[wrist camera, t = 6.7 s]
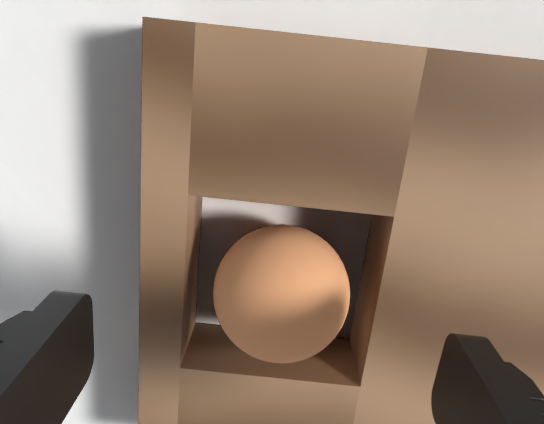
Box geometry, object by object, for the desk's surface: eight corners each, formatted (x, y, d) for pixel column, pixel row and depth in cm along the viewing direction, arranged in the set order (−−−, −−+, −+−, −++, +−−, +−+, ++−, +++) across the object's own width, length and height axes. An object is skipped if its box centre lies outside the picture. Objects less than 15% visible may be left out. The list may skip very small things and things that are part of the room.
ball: (191, 226, 12) (332, 275, 10) (265, 198, 16) (380, 232, 14) (178, 354, 13) (302, 417, 12) (249, 302, 17) (353, 345, 15)
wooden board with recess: (167, 23, 13) (142, 16, 11) (857, 98, 13) (979, 107, 11) (157, 415, 18) (137, 471, 15) (673, 468, 18) (732, 530, 16)
